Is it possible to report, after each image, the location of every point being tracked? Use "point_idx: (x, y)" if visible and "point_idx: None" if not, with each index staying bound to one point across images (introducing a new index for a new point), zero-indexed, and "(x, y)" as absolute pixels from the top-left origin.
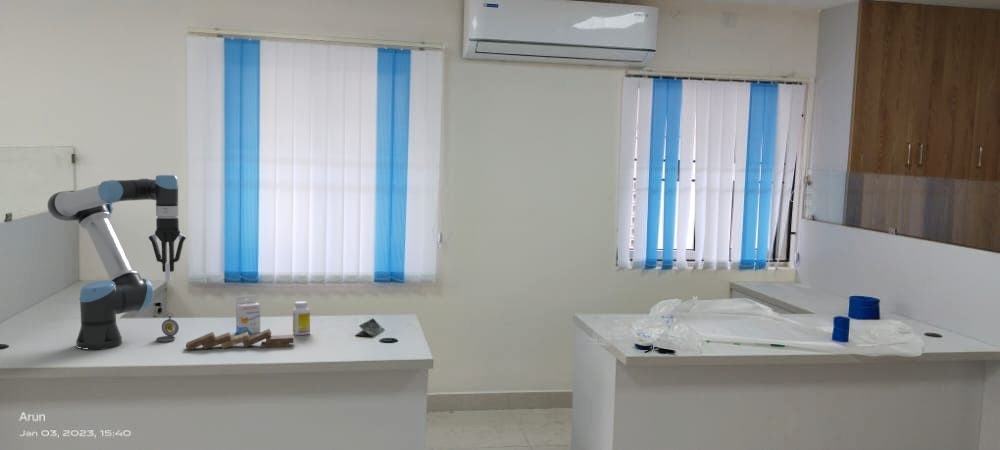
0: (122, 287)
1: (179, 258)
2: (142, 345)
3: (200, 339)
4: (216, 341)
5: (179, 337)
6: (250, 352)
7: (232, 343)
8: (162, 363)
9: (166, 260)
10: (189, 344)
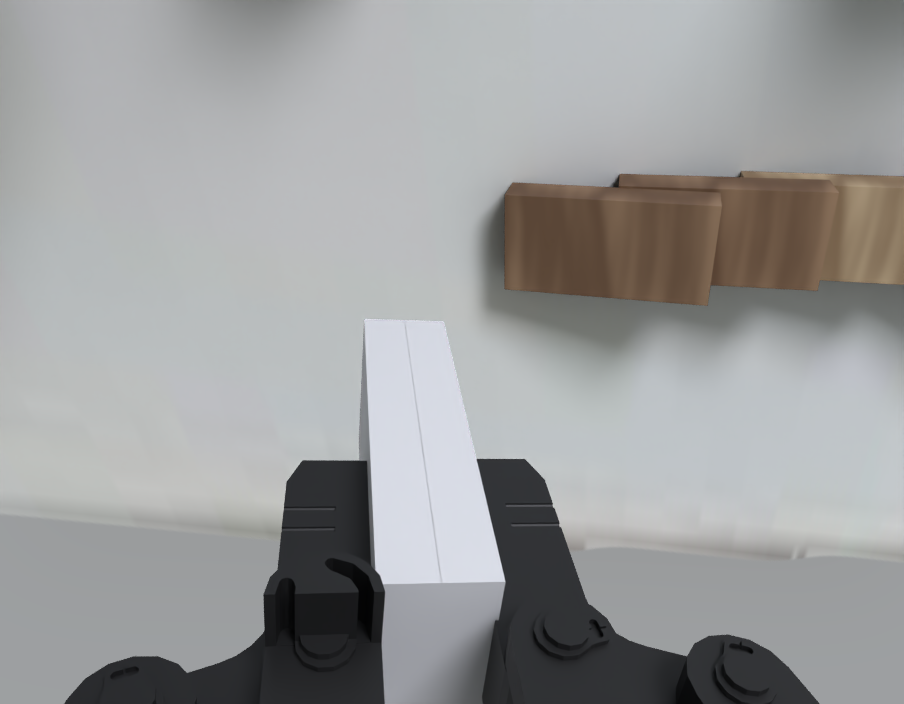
0: None
1: (809, 699)
2: (141, 36)
3: (612, 284)
4: (712, 280)
5: None
6: (864, 366)
7: None
8: None
9: (377, 686)
10: (531, 290)
